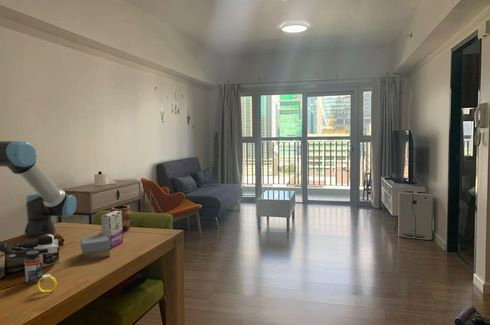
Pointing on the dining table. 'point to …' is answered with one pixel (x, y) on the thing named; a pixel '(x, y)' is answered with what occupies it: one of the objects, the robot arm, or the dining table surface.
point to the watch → (46, 278)
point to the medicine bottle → (50, 257)
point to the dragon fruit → (60, 239)
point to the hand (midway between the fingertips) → (57, 245)
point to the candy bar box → (113, 228)
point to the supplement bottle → (33, 267)
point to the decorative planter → (124, 215)
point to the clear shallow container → (96, 254)
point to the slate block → (94, 243)
